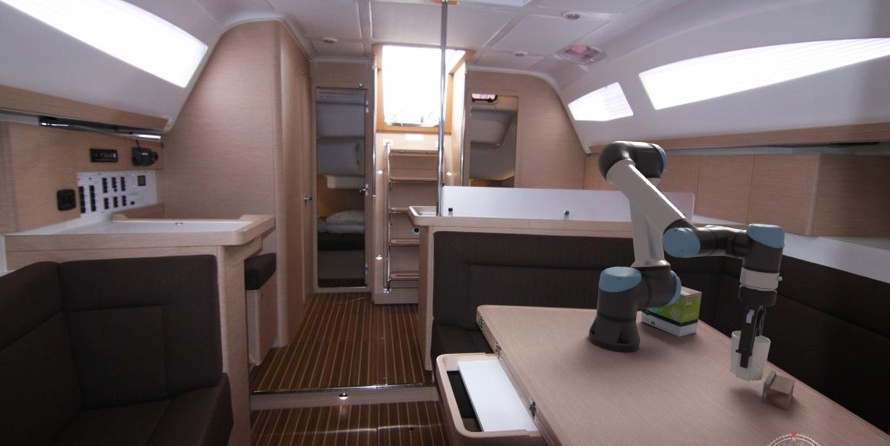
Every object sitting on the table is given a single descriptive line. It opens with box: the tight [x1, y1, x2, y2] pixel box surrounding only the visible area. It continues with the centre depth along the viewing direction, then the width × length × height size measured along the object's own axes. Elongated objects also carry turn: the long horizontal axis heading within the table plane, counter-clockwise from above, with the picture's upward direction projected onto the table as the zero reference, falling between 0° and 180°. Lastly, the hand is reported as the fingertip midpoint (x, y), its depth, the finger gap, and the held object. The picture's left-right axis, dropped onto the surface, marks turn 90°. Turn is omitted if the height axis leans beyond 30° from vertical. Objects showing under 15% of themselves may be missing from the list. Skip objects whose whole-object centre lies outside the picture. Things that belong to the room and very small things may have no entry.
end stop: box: [760, 369, 796, 411], centre depth 103 cm, size 5×10×5 cm, turn 134°
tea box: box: [640, 285, 703, 338], centre depth 146 cm, size 15×10×15 cm, turn 28°
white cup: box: [729, 330, 771, 381], centre depth 107 cm, size 8×8×10 cm
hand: (746, 373), depth 107 cm, fingers closed on white cup, 7 cm apart
